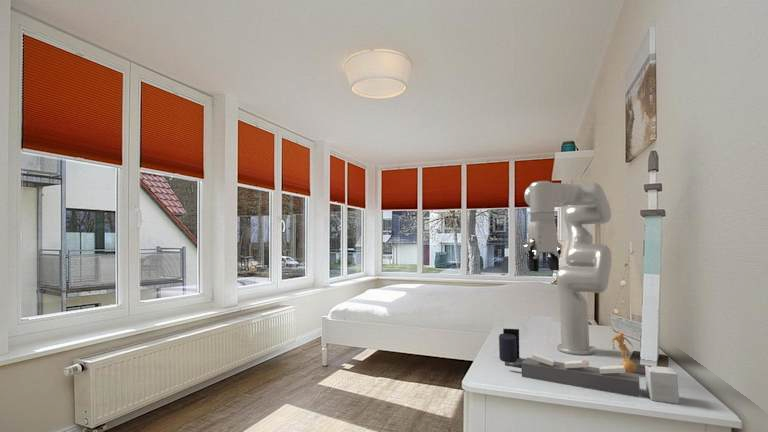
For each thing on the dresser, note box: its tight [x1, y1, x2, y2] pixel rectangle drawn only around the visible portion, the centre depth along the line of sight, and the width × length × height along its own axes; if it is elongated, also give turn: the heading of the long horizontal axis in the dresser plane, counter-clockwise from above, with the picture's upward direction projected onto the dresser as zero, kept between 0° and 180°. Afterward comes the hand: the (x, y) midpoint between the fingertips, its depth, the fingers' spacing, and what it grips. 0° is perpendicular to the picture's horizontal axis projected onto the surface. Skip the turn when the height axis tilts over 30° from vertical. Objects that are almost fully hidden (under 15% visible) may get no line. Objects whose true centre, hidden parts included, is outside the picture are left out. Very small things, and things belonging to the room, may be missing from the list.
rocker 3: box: [599, 364, 626, 374], centre depth 109 cm, size 3×6×1 cm, turn 56°
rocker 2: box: [563, 359, 590, 368], centre depth 114 cm, size 3×6×1 cm, turn 56°
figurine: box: [611, 332, 637, 373], centre depth 124 cm, size 8×6×12 cm
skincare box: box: [644, 365, 680, 404], centre depth 103 cm, size 6×6×7 cm
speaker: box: [498, 328, 520, 363], centre depth 138 cm, size 8×6×10 cm
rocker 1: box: [531, 352, 556, 366], centre depth 119 cm, size 3×6×1 cm, turn 56°
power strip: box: [504, 357, 641, 398], centre depth 117 cm, size 7×36×4 cm, turn 56°
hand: (544, 270), depth 130 cm, fingers open, 9 cm apart
